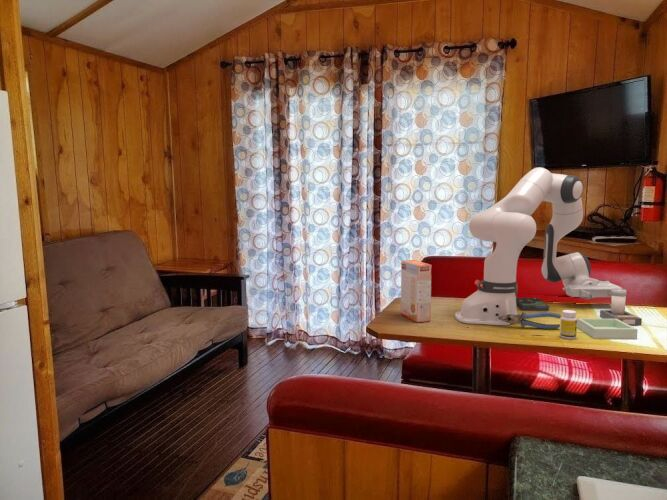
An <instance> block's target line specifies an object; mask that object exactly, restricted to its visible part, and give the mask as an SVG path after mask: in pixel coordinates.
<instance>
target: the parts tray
mask: <svg viewBox="0 0 667 500" xmlns="http://www.w3.org/2000/svg"><path fill="white" fill-rule="evenodd" d="M576 318H577V317H576ZM577 329H579V330H580V331H582V332H583V333H585V334H586V335H588V336H590V337H591V338H593V340H595V339H598V340H600V339H603V340H605V339H606V340H607V339H609V340H610V339H611V340H616V339H617V340H619V339H620V340H637V339H638V330H639V329H638V328H636V327H634V326H630V325H628V324H626V323H624V322H622V321H620V320H618V319H603V318H586V317H585V318H582V317H581V318H577Z"/></svg>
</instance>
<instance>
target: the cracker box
mask: <svg viewBox="0 0 667 500" xmlns="http://www.w3.org/2000/svg"><path fill="white" fill-rule="evenodd" d="M400 263H401V267H400V268H401V269H400V273H401V275H400V314H401V315H402V316H404V317H406V318H408V319H409V320H410V321H411V320H412V321H413V322H415V323H427V322H429V323H430V322H431V310H432V309H431V308H432V306H431V305H432V303H431V301H432V297H431V296H432V264H429V263H428V262H427V263H426V262H422V261H419V260H415V259H407V260H401V262H400Z"/></svg>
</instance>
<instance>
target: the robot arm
mask: <svg viewBox="0 0 667 500" xmlns="http://www.w3.org/2000/svg"><path fill="white" fill-rule="evenodd" d="M583 192H584V184H583V181H582V179H581V178H580V177H578V176H576V175H572V174H562V173H553V172H551V171H550V170H548V169H546V168H544V167H541V166H539V167H534V168H533V169H531V170H530V171H528V172H527V173H526V174H525V175H523V177H521V178H520V179H519V181H518V182H517V183H516V184H515V186H514V187H513V188H512V189H511V190H510V191H509V192H508V193H507V194H506V196H504V197H503V198H502V199H500V200H499V201H498V202H496V203H495V204H493V205H492V206H490V207H489V208H486V209H485V210H482V211H479V212H477V213H475V214H473V215H472V216H471V219H470V221H469V225H468V226H469V227H468V228H469V232H470V234H471V235H472V236H473V237H474V238H475V239H478V240H481V241H484V242H491V243H496V245H495V249H494V250H493V252H492V253H490V254H488V255H487V256H486V257H485V259H484V265H483V266H484V267H483V279H482V280H479V279H475V281H474V284H475V285H476V286H477V290H476V291H475V292H473V293H471V294H470V295H469V296H467V297H466V298H464V299H463V302H462V304H461V307H460V310H459V311H456V312H455V314H454V318H455V319H456V320H457V321H458V322H460V323H464V324H473V325H493V326H509V325H511V324H512V323H507V322H504V321H501V320H499V319H498V317H499V316H503V315H507V314H515V315H519V314H518V307H517V305H516V297H518V296H517V294H518V281H517V267H518V260H519V257H520V255H521V252H522V250H523V248H524V247H525V246H526V245H528V243H530V242H531V241H532V240H533V239H534V238H535V236H536V233H537V223H536V221H535V219H534V218H533V217H532V215H533V213H535V211H536V210H537V209H538V207H539V206H540V204H542V202H548V203H551V208H552V216H551V219H550V222H549V223H548V224H547V225H546V227H545V229H544V230H545V231H544V243H543V254H542V255H543V257H542V263H541V267H540V268H541V274H542V276H543V278H544V280H546V281H547V282H549V283H550V282H551V283H553V284H555V283H558V282H561V281H562V285H563V286H564V287H562V289H561V290H562V291H564V292H565V293H566V295H567V296H569V297H572V298H581V299H583V300H587V301H588V300H589V301H590V300H593V299H597V298H612V295H611V293H612V289H614V288H618V289H623V287H621V286H619V285H618V284H617V285H616V284H614V283H611V282H610V281H609V280H603V279H596V278H594V277H593V278H592V277H591V273H592V266H591V262H590V260H589V259H588V257H587V256H585V255H584V254H583V253H581V252H579V251H577V252H576V251H575V252H572V253H568V254H565V255H562V256H558V257H557V248H558V247H557V246H558V243H559V242H560V240H562V239H563V237H565V236H566V235H568V234H569V233H571V232H572V231H574V230H576V229H577V228H578V227H579V226H580V225H581V223H582V222H583V219H584V207H583V201H582V195H583ZM503 319H506V318H503Z"/></svg>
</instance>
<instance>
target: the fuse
mask: <svg viewBox="0 0 667 500" xmlns="http://www.w3.org/2000/svg"><path fill="white" fill-rule="evenodd" d="M611 295H612V297H610V298H611V303H610V310H611V313H610V314H612V315H625V311H626V299H627V289H625V288H622V289H618V288H614V289H612V293H611Z"/></svg>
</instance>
